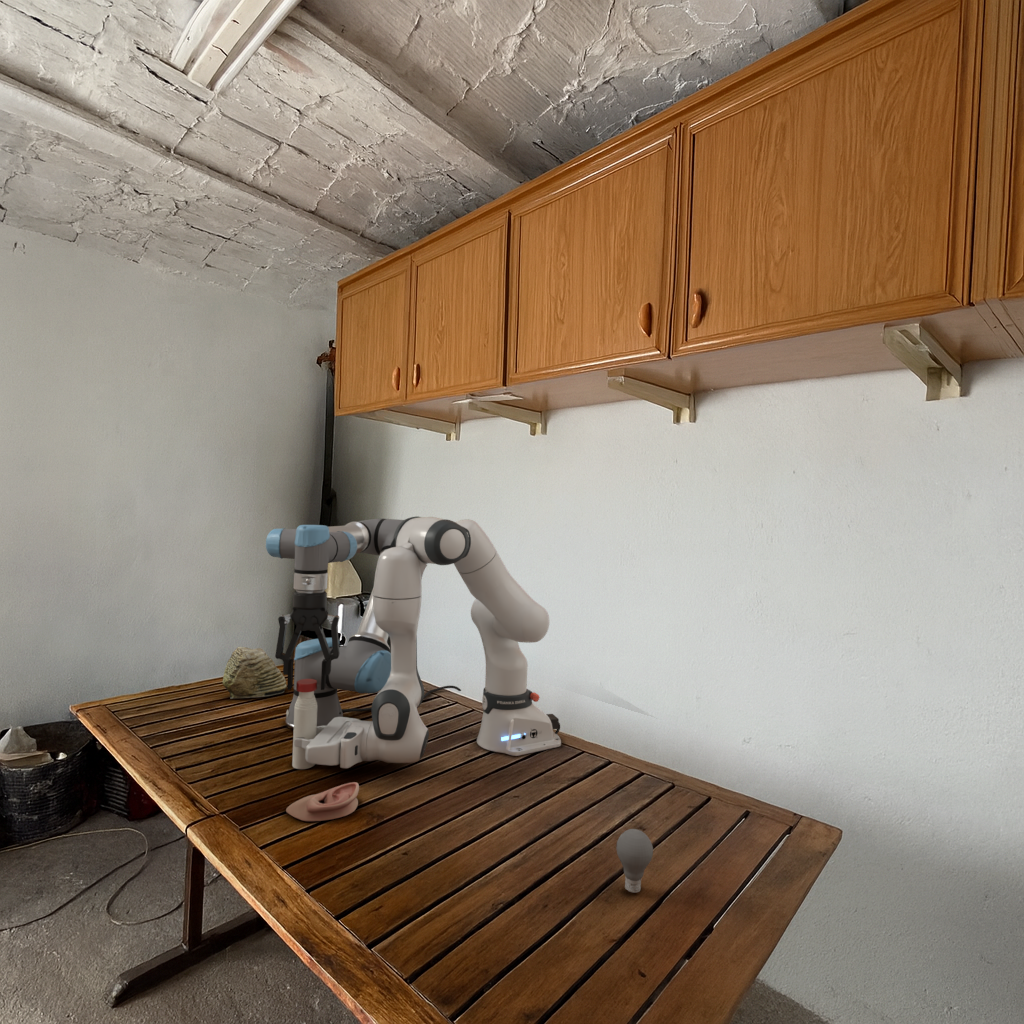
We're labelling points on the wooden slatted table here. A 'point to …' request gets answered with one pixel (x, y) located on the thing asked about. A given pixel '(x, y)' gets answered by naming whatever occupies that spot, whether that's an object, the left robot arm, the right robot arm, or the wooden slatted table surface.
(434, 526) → the right robot arm
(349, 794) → the anatomical model
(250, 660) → the fossil
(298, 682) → the cap
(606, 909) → the wooden slatted table surface
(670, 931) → the wooden slatted table surface
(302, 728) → the bottle
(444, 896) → the wooden slatted table surface
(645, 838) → the light bulb
